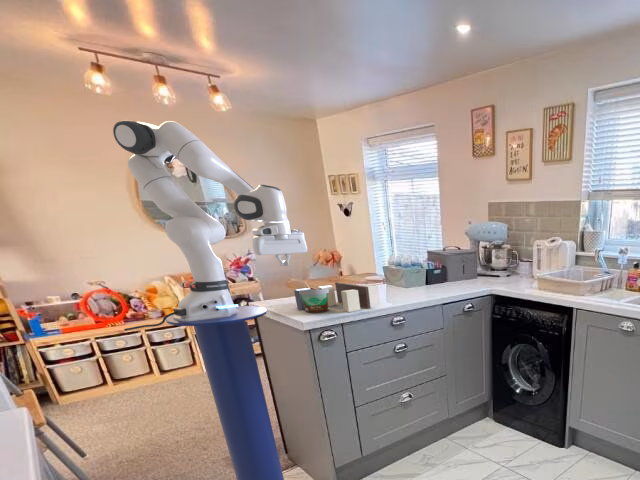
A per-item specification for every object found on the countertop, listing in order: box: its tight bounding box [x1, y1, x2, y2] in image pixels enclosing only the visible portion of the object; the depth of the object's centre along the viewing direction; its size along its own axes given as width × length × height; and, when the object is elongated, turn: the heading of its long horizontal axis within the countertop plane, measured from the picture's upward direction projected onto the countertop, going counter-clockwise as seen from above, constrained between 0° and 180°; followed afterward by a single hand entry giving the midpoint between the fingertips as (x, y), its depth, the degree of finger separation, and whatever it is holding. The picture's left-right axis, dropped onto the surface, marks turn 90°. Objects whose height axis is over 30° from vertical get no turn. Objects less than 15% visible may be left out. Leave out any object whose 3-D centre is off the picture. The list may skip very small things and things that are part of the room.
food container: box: [299, 288, 329, 314], centre depth 184 cm, size 12×6×10 cm, turn 122°
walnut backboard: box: [334, 281, 371, 310], centre depth 198 cm, size 2×24×10 cm, turn 54°
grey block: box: [293, 287, 312, 311], centre depth 189 cm, size 6×4×9 cm, turn 144°
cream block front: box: [341, 289, 361, 313], centre depth 187 cm, size 6×4×9 cm, turn 144°
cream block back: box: [316, 285, 337, 307], centre depth 197 cm, size 6×4×9 cm, turn 144°
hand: (284, 265), depth 170 cm, fingers closed
